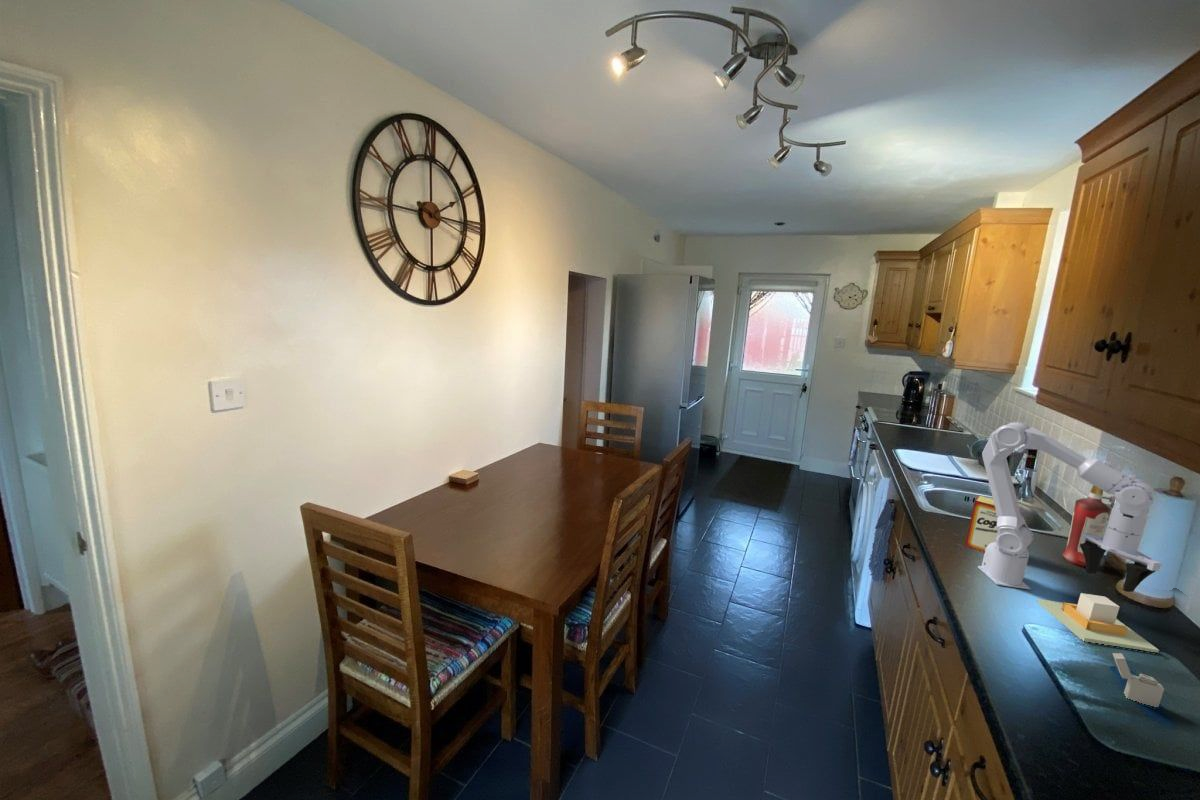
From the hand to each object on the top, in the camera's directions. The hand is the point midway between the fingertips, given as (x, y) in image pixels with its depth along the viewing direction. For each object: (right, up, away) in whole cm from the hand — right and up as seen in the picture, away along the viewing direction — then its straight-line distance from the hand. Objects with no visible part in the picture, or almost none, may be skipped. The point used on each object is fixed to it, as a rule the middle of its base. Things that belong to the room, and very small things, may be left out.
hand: (1109, 581), depth 115 cm
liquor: (+21, -6, +29) cm, 36 cm away
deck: (-7, -10, -3) cm, 12 cm away
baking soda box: (-3, -3, +34) cm, 34 cm away
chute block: (-7, -9, -3) cm, 11 cm away
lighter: (-22, -13, -24) cm, 35 cm away
